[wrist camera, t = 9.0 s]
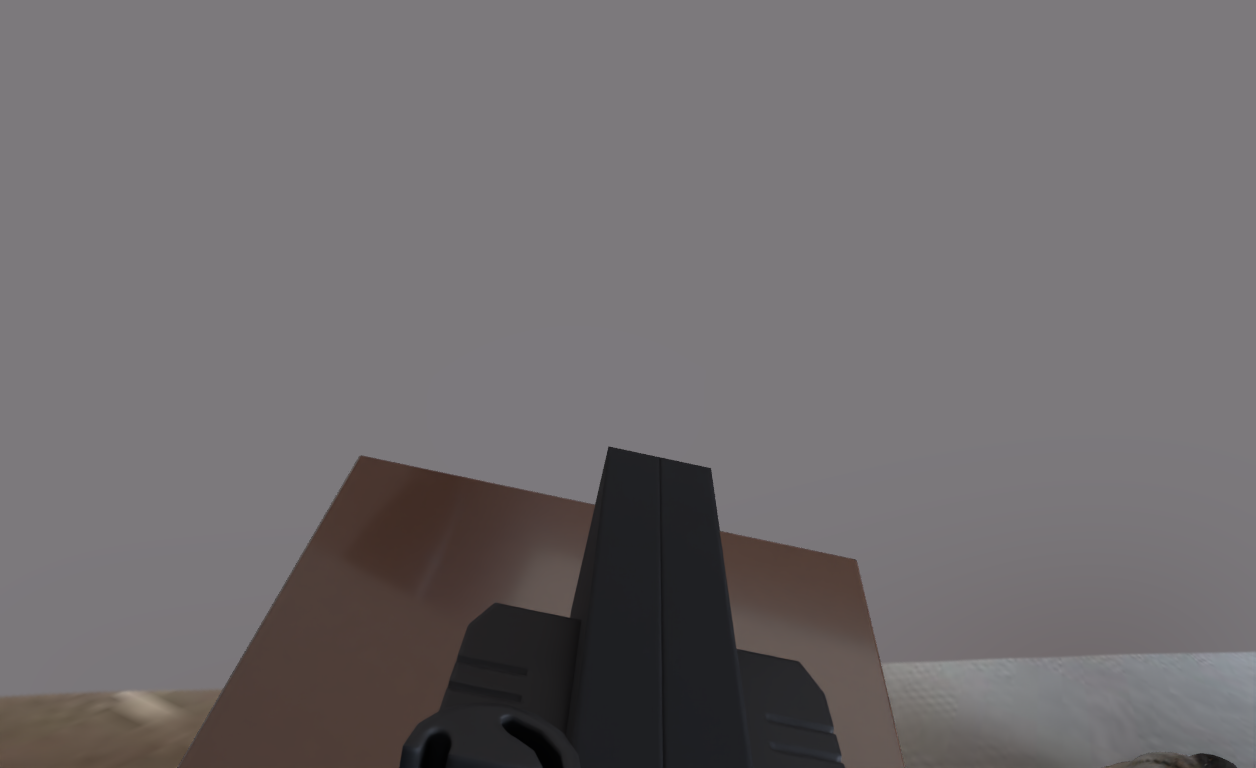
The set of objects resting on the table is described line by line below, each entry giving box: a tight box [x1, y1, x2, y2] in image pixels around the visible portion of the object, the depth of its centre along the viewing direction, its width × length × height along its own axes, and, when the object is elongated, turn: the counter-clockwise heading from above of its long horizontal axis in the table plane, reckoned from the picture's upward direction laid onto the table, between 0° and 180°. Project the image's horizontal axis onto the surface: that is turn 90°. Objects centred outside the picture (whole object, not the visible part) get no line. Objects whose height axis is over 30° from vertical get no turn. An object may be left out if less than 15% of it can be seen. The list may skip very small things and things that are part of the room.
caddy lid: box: [177, 456, 905, 768], centre depth 17 cm, size 14×13×1 cm
